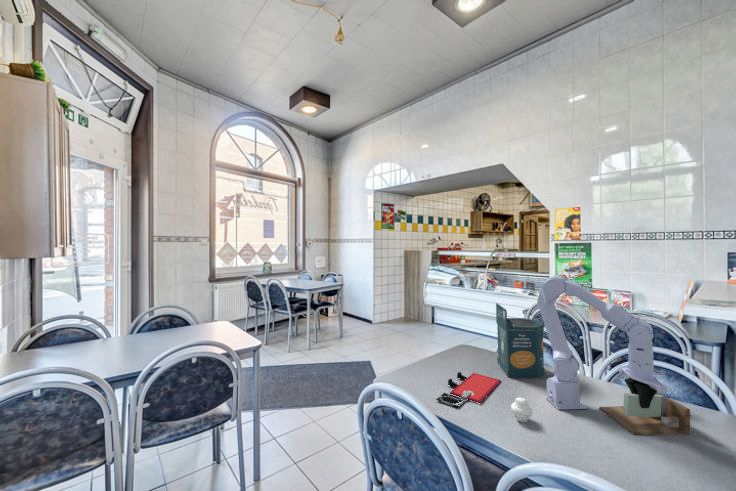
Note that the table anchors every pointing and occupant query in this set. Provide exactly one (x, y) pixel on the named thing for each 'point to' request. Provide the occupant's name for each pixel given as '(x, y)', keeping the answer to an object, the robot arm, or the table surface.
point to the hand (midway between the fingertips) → (641, 405)
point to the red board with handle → (470, 389)
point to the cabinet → (653, 420)
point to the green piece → (655, 410)
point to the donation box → (519, 345)
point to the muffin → (521, 409)
